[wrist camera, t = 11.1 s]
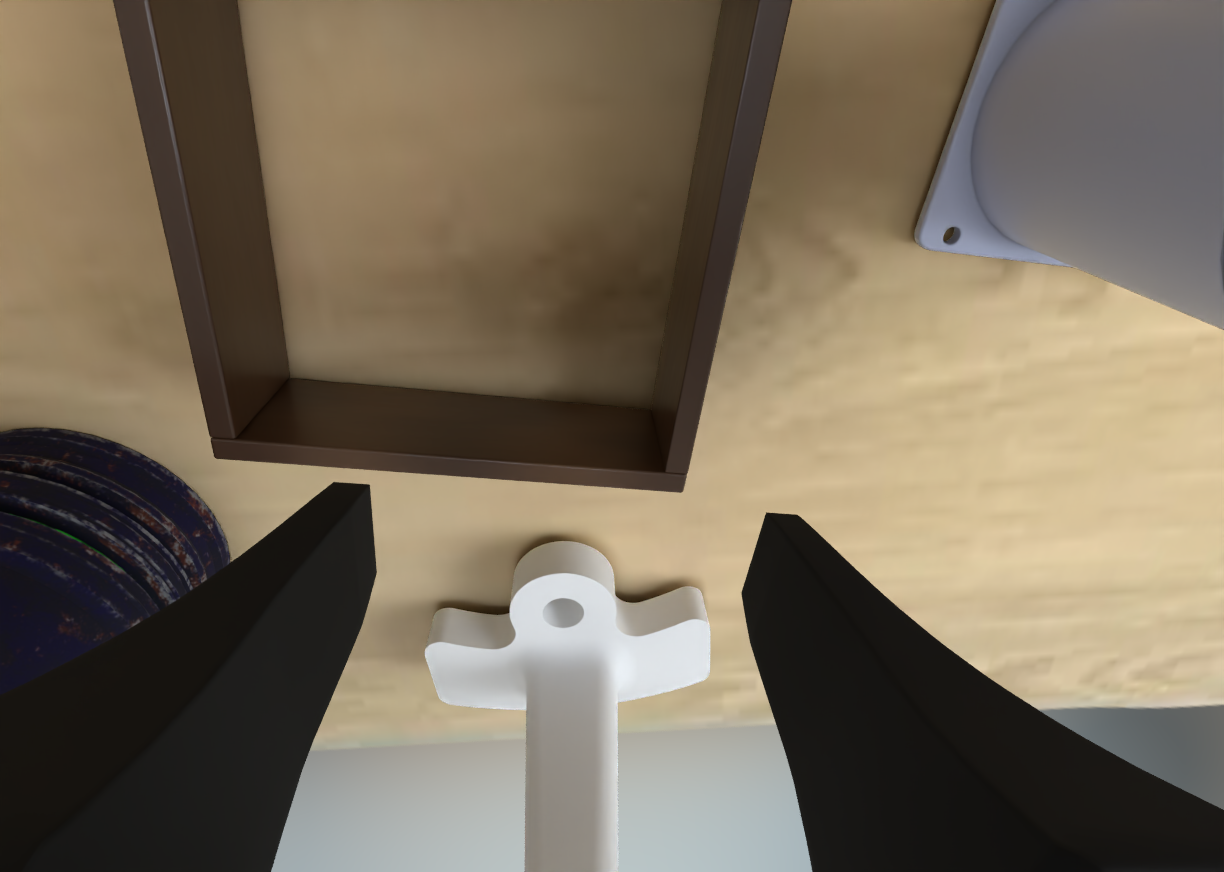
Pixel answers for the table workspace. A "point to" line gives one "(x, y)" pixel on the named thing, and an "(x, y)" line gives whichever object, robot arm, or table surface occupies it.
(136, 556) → the dark navy cylinder
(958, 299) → the table surface
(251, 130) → the wooden frame
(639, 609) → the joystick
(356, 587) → the robot arm
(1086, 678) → the table surface
